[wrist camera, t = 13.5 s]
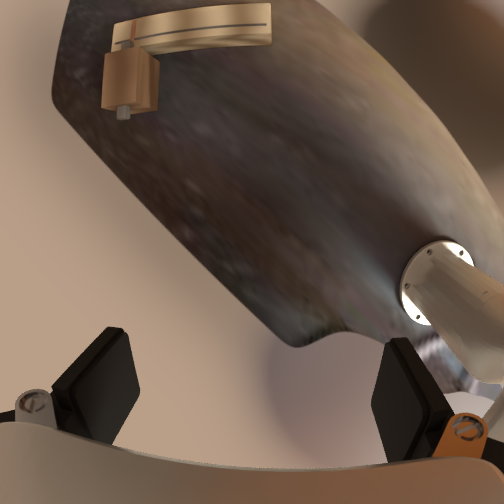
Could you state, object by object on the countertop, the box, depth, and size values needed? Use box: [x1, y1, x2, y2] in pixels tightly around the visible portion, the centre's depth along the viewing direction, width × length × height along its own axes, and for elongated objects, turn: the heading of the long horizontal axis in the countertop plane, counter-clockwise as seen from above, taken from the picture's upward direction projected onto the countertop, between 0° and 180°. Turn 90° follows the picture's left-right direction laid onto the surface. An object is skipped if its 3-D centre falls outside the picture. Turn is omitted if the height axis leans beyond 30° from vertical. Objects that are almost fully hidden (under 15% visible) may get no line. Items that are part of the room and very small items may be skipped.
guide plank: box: [111, 3, 272, 55], centre depth 32 cm, size 20×4×4 cm, turn 90°
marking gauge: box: [101, 40, 160, 120], centre depth 33 cm, size 4×10×7 cm, turn 0°
